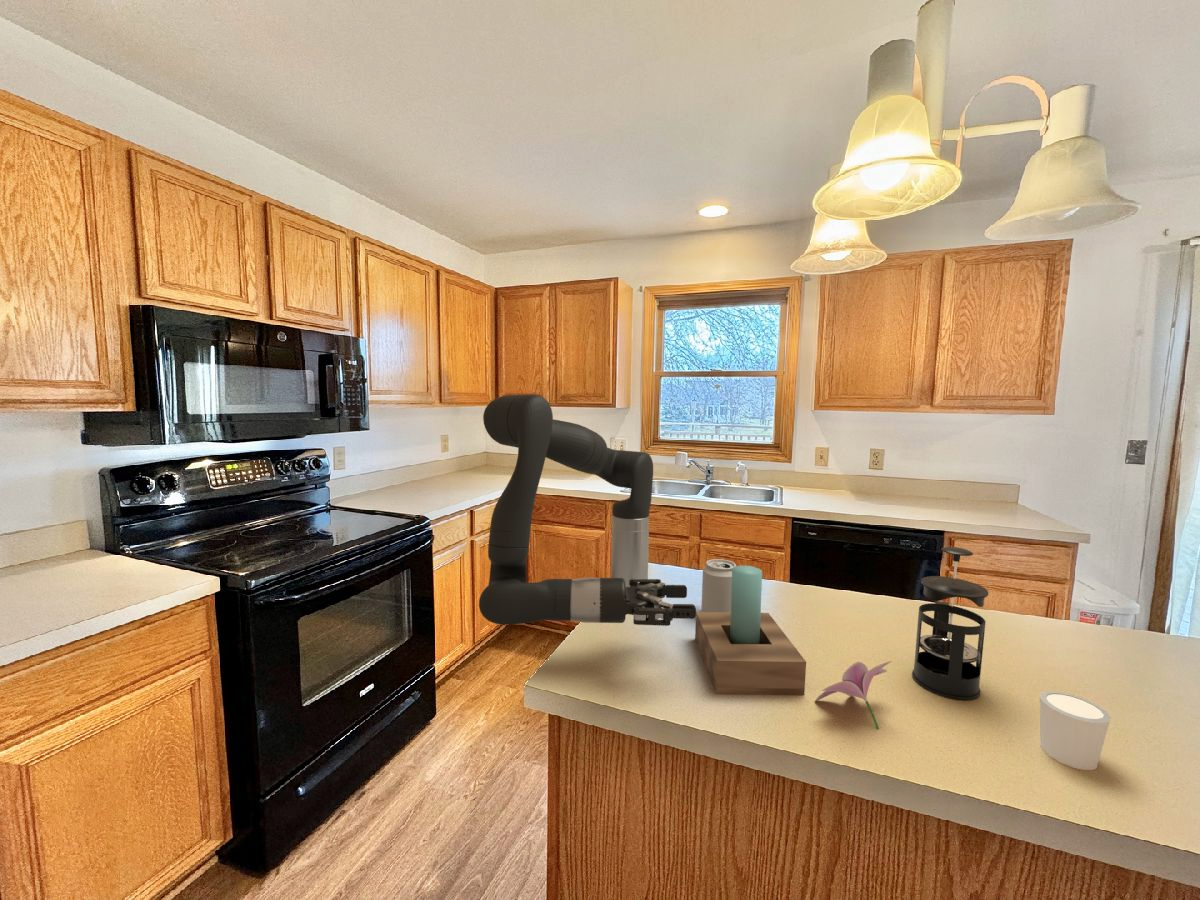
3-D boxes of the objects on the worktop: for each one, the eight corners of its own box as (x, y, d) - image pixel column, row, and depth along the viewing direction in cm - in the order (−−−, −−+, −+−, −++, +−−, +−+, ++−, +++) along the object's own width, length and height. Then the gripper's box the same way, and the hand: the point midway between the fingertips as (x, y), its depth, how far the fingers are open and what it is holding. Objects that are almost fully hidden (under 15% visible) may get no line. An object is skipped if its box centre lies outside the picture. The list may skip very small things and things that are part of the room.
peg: (726, 651, 91) (728, 565, 90) (754, 651, 91) (757, 565, 90) (733, 665, 86) (736, 575, 85) (762, 665, 86) (766, 575, 85)
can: (741, 625, 104) (743, 569, 103) (704, 624, 104) (706, 568, 103) (732, 610, 112) (734, 557, 110) (698, 609, 112) (700, 556, 110)
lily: (898, 709, 78) (872, 645, 81) (931, 726, 67) (900, 651, 70) (821, 727, 79) (799, 663, 83) (841, 747, 68) (814, 672, 72)
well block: (695, 639, 98) (695, 611, 97) (767, 639, 98) (768, 612, 97) (716, 693, 80) (717, 660, 79) (804, 694, 80) (806, 661, 79)
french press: (990, 708, 77) (1005, 562, 74) (919, 695, 80) (931, 555, 78) (967, 670, 88) (979, 541, 85) (905, 659, 91) (915, 535, 89)
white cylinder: (1024, 733, 71) (1029, 686, 71) (1083, 743, 70) (1089, 695, 69) (1051, 767, 65) (1057, 716, 64) (1118, 779, 63) (1125, 726, 62)
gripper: (598, 595, 80) (699, 596, 80) (598, 565, 94) (684, 566, 94) (597, 640, 81) (698, 641, 81) (597, 603, 95) (683, 604, 95)
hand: (690, 600), depth 88 cm, fingers open, 8 cm apart
